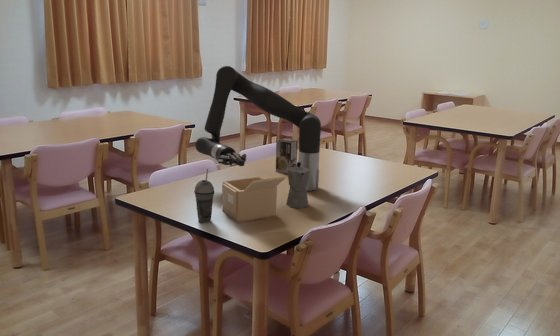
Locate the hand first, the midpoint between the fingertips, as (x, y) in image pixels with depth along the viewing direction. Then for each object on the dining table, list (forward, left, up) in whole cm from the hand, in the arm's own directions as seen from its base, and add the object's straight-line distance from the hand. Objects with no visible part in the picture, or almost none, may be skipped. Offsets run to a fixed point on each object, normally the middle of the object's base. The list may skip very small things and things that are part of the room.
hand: (242, 163), depth 196 cm
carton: (-3, +5, -18) cm, 20 cm away
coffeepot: (-22, -8, -19) cm, 30 cm away
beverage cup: (+13, +14, -19) cm, 27 cm away
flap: (-7, +12, -6) cm, 15 cm away
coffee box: (-19, -58, -19) cm, 64 cm away
